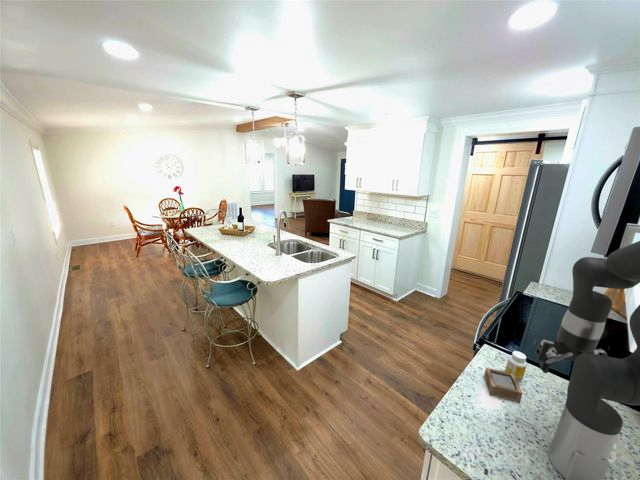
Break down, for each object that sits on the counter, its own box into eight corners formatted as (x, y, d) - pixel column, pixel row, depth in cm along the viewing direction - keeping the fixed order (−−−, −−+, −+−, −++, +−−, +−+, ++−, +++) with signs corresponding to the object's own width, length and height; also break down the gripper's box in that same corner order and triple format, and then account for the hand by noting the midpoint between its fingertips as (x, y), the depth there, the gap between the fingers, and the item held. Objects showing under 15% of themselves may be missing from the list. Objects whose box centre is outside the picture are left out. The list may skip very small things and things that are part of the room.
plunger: (515, 391, 85) (515, 389, 85) (495, 386, 87) (495, 385, 87) (509, 378, 91) (510, 376, 90) (490, 373, 93) (490, 372, 92)
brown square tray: (519, 402, 85) (522, 393, 83) (489, 395, 87) (492, 385, 86) (511, 382, 92) (513, 373, 91) (483, 376, 95) (485, 367, 94)
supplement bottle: (502, 375, 95) (507, 353, 93) (507, 368, 99) (512, 347, 96) (520, 384, 91) (526, 362, 89) (524, 377, 95) (530, 355, 92)
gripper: (553, 331, 67) (537, 378, 73) (626, 344, 63) (602, 393, 68) (541, 314, 74) (527, 359, 79) (606, 325, 69) (586, 371, 75)
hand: (562, 374), depth 74 cm, fingers open, 8 cm apart
